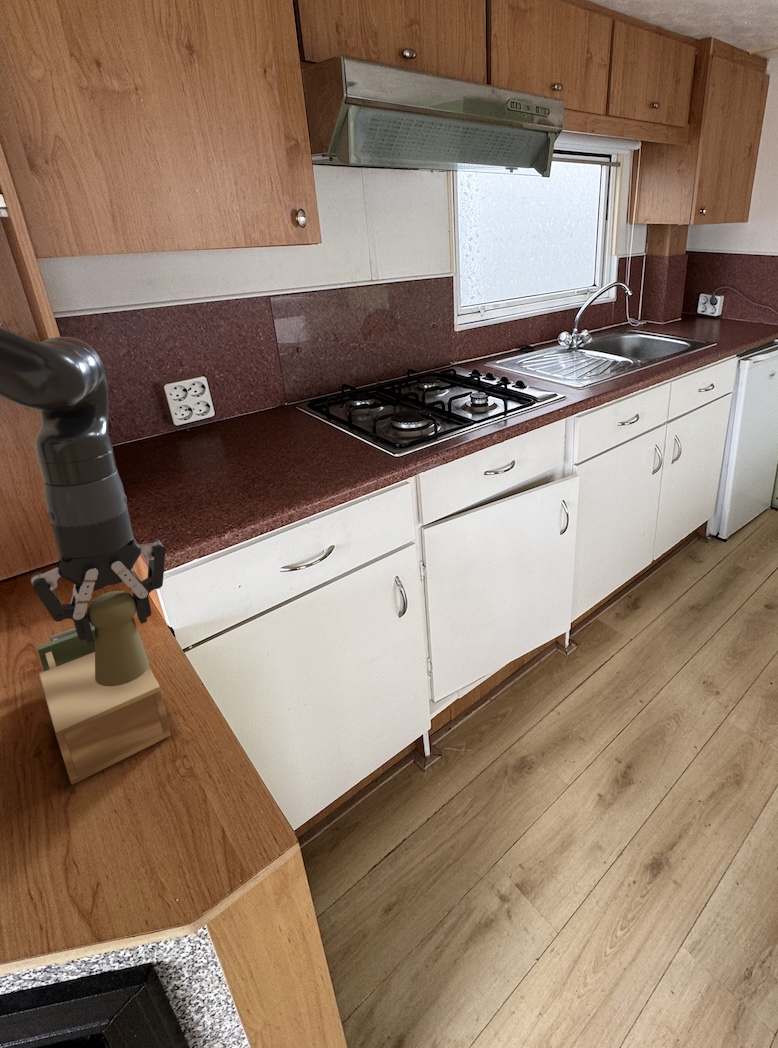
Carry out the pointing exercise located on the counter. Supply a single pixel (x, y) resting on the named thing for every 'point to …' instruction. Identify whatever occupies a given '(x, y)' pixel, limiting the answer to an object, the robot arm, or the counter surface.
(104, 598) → the cork
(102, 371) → the robot arm
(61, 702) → the cabinet
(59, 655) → the drawer
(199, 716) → the counter surface
